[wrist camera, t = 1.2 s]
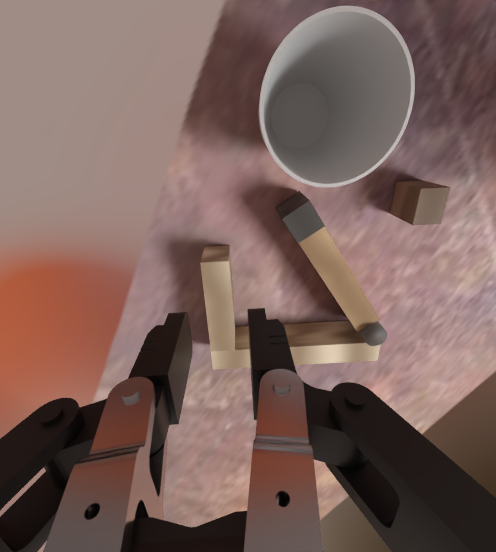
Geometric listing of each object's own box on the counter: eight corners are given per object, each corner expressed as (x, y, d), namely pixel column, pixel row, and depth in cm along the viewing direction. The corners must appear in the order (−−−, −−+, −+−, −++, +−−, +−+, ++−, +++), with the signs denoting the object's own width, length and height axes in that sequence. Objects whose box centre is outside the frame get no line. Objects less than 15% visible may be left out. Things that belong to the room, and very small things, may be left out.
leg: (299, 191, 26) (311, 202, 22) (371, 311, 33) (392, 338, 28) (275, 207, 27) (283, 221, 23) (351, 322, 33) (368, 350, 29)
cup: (366, 115, 24) (444, 103, 15) (296, 188, 26) (327, 215, 18) (301, 30, 21) (350, -46, 12) (230, 120, 24) (227, 111, 15)
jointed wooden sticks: (421, 180, 27) (450, 187, 23) (386, 335, 35) (404, 358, 31) (198, 190, 26) (192, 198, 23) (215, 344, 34) (213, 369, 31)
